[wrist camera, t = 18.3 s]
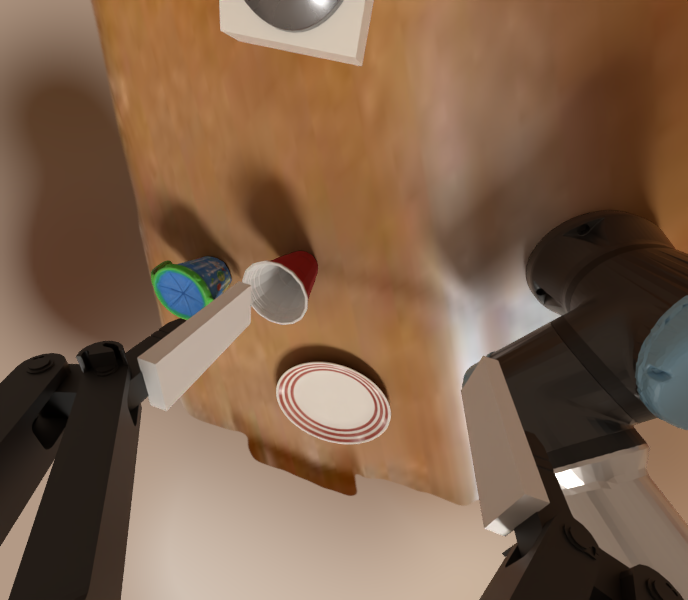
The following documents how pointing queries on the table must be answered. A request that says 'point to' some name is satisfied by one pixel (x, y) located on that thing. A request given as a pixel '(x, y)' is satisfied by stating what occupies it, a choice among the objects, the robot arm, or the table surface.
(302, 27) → the scale pan
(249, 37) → the scale
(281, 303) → the plastic cup
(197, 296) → the snack cup
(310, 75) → the table surface
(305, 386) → the dinner plate
